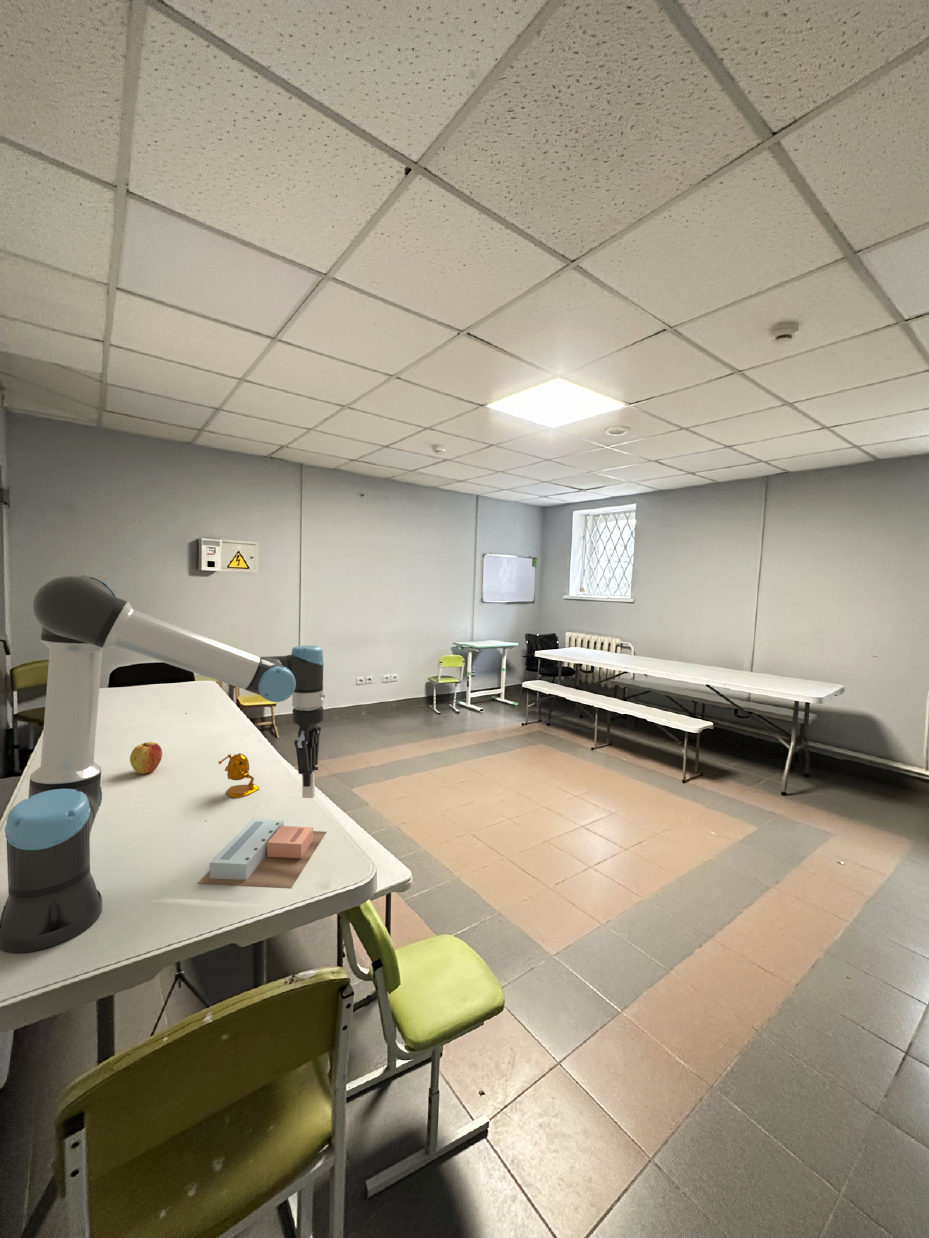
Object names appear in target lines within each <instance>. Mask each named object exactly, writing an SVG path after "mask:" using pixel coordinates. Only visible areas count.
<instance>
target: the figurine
mask: <svg viewBox="0 0 929 1238" xmlns="http://www.w3.org/2000/svg"><path fill="white" fill-rule="evenodd" d="M228 758H229V761H228V764H227V766H225V768H224V772H227V779H228V780H231V781H241V780H244V779H250V780H249V782H248V784H237V785H233V786H230V787H229V788H227V790H226V795H227V796H228V797H229V798H232V799H242V798H245V797H247V796H249V795H251V794H253V793H256V792H257V791H259V790H260V787H259V786H258V785H257V784H255V783H254V780H255V777H253V776H252V775H251V774H250V772H249V771H250V762H249V759H248V758H247V756H246V755H245V754H243V753H238V754H237V753H235V754H234V755H233V756H232V754H230V753H229V754H227V755H226V756H225V757H224V758H222V759H221V760H218V762H217V764H218V765H219V764H220V765H221V764H222V763H223V762H224V761H226V760H228Z"/></svg>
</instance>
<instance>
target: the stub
mask: <svg viewBox="0 0 929 1238" xmlns="http://www.w3.org/2000/svg"><path fill="white" fill-rule="evenodd" d="M313 831H314V827H311V826H310V827H309V826H295V825H294V826H289V825H284V826H281V827H280V828H279V829H278V830H277V832H276V833H275V834H274V835H273V836H272V837H271V839H270V840H269V841H268V842H267V857H284V858H302V857H303V855H304V854H305V852H306V851H307V849H308V848H309V846H310V845H311V843H312V842H313Z"/></svg>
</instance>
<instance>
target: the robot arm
mask: <svg viewBox="0 0 929 1238" xmlns="http://www.w3.org/2000/svg"><path fill="white" fill-rule="evenodd" d="M32 610H33V615H34V616H35V618H36V621H37V622H38V623H39V624H40V625H41V635H40V642H41V643H42V644H44V645H45V646H46V648H48V649H49V654H48V655H49V656H48V667H47V668H48V671H47V683H46V693H45V694H46V695H45V705H44V706H45V707H44V717H43V718H44V719H43V720H44V722H43V732H42V735H43V736H42V745H41V757H40V758H41V760H40V766H39V767H38V768H37V769H35V770H34V771H33V772H31V774H30V775H29V785H28V795H27V796H28V797H27V798H26V799H23V800H21V801H19V802H18V803H17V804H16V805H15V806H13V807H12V808H11V809H10V811H9V812H8V814H7V817H6V824H5V828H4V833H5V838H6V858H7V859H6V863H7V884H8V885H7V886H8V887H7V889H8V891H7V893H8V895H7V898H6V902H5V904H4V906H3V909H2V912H1V915H0V950H1V951H3V952H7V953H13V954H16V953H17V954H20V953H29V952H36V951H39V950H45V949H47V948H50V947H53V946H56V945H59V944H62V943H64V942H66V941H68V940H70V939H72V938H75V937H76V936H78V935H79V934H81V933H83V932H84V931H86V930H87V929H88V928H89V927H91V926H92V925H93V924H94V923H96V921H97V920H98V919H99V918H100V916H101V915H102V912H103V897H102V894H101V892H100V891H99V889H98V888H97V885H96V883H95V880H94V877H93V876H92V873H91V849H90V848H91V845H90V844H91V843H90V842H91V841H90V839H91V838H90V837H91V832H92V829H93V825H94V822H95V819H96V816H97V814H98V811H99V809H100V807H101V805H102V799H103V791H102V787H101V782H102V780H101V778H102V767H101V766H100V765H99V764H98V763H96V762H95V761H94V758H95V746H96V736H97V735H96V733H97V723H98V722H97V721H98V720H97V719H98V710H99V709H98V708H99V700H100V699H99V696H100V685H101V683H100V682H101V673H102V659H103V651H104V649H107V648H111V647H117V648H119V649H123V650H124V651H125V650H126V651H128V652H132V653H134V654H138V655H141V656H143V657H147V658H149V659H152V660H156V661H158V662H161V663H164V664H167V665H169V666H174V667H176V668H180V669H183V670H185V671H189V672H191V673H194V674H198V675H200V676H203V677H205V678H210V679H212V680H215V681H217V682H222V683H224V684H227V685H231V686H233V687H237V688H239V689H242V690H245V691H247V692H250V693H252V694H256V695H259V696H261V697H262V698H263V699H264V700H266V701H269V702H272V703H281V702H284V701H286V700H289V698H291V696H292V698H291V701H292V703H291V705H292V707H293V709H292V722H293V724H295V725H297V726H299V728H298V732H297V738H298V739H296V740H294V743H293V744H294V748H295V751H296V761H297V769H298V771H297V773H298V775H301V777H302V778H301V781H302V783H301V785H302V787H301V788H302V793H301V795H302V796H301V797H302V798H303V799H304V798H305V799H313V798H314V797H315V795H316V793H315V792H316V790H315V789H316V787H315V786H316V785H315V782H316V780H315V777H316V775H315V771H319V766H318V764H319V752H320V751H319V750H320V749H319V748H320V739H321V738H320V737H321V730H322V728H321V726H318V724H320V723H322V722H323V721H324V707H323V705H324V699H325V698H326V694H325V693H324V665H325V663H324V654H323V652H324V651H323V649H322V647H320V646H318V645H298V646H293V648H291V653H290V654H287V655H277V656H275V655H271V656H257V655H254V654H251V653H249V652H247V651H244V650H241V649H238V648H236V647H234V646H230V645H228V644H225V643H222V642H220V641H217V640H215V639H212V638H210V637H207V636H204V635H202V634H198V633H196V632H194V631H191V630H188V629H187V628H184V627H182V626H181V627H180V626H178V625H174V624H172V623H170V622H167V621H165V620H162V619H159V618H156V617H154V616H152V615H149V614H146V613H143V612H140V611H139V610H135V609H134V608H133V607H132V605H131V603H130V602H129V601H127V600H125V599H122V598H119V597H117V596H116V594H115V591H113V589H112V588H111V587H110V586H109V584H107V583H105V582H104V581H103V580H100V579H98V578H96V577H93V576H87V575H64V576H60V577H55V578H53V579H50V580H49V581H47V582H46V583H44V584H43V585H42V586H40V588H39V589H38V590H37V591H36V593H35V595H34V597H33V601H32Z"/></svg>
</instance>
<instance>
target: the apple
mask: <svg viewBox="0 0 929 1238" xmlns="http://www.w3.org/2000/svg"><path fill="white" fill-rule="evenodd" d="M162 757H163V751H162V747H161V746H160V745H159V744H158V743H157V742H154V741H153V742H152V741H151V742H150V741H148V742H144V743H141V744H139V745H137V746H135V747H133V749H132V751H131V753H130V756H129V763H130V765H131V767H132V769H133V770H134V771H135V772H136V773H137V774H139V775H146V774H150V773H152V772H154V771H155V770H156V769H157V768H158V766H159V765H160V763H161V761H162Z"/></svg>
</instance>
